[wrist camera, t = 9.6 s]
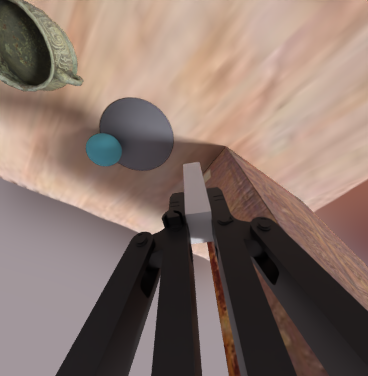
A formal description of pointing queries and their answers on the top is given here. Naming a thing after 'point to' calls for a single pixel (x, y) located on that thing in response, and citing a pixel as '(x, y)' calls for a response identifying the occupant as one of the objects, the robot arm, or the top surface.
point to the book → (299, 231)
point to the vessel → (34, 49)
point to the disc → (138, 133)
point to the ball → (103, 149)
